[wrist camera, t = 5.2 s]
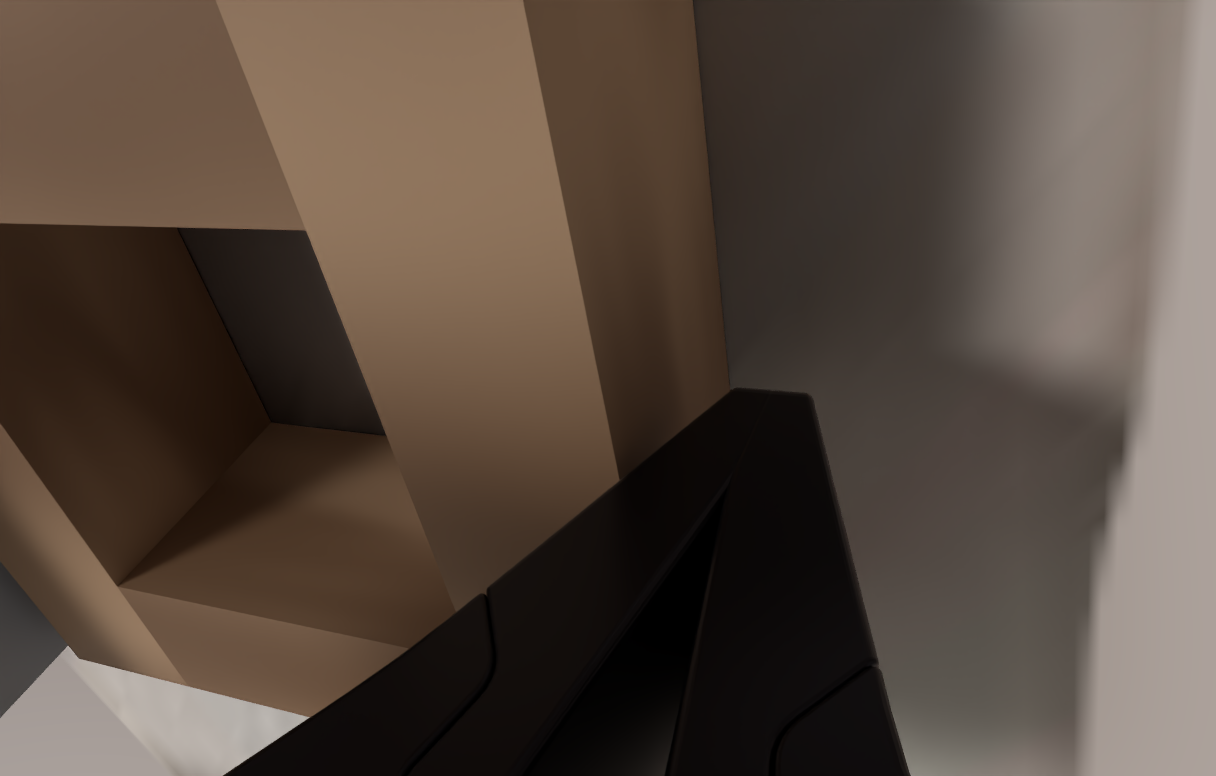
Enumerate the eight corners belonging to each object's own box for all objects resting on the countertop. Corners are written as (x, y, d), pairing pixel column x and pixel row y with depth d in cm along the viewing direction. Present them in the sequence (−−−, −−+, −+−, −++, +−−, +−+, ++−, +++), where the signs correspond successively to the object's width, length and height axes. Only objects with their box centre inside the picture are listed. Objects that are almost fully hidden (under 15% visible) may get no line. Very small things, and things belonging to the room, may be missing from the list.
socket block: (749, 589, 13) (686, 813, 11) (219, 504, 17) (78, 658, 14) (672, -211, 8) (496, -130, 5) (-116, -86, 11) (-455, -1, 8)
